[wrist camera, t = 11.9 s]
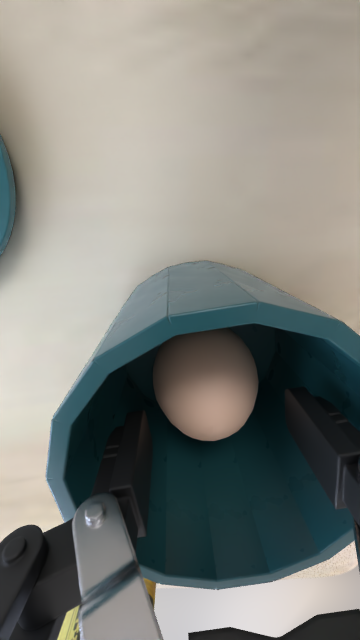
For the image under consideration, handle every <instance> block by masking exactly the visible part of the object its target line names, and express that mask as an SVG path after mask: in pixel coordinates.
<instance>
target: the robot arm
mask: <svg viewBox="0 0 360 640" xmlns="http://www.w3.org/2000/svg"><path fill="white" fill-rule="evenodd" d="M285 420H286V425H287V428H288V430H289V432H290V434H291V436H292V438H293V439H294V441H295V443H296V444H297V446H298V448H299V449H300V451H301V453H302V454H303V456H304V458H305V459H306V461H307V463H308V464H309V466H310V468H311V469H312V471H313V473H314V474H315V476H316V478H317V479H318V481H319V483H320V484H321V486H322V488H323V489H324V491H325V493H326V494H327V496H328V498H329V499H330V501H331V503H332V504H333V506H334V508H335V509H343V508H348V510H349V511H350V513H351V514H352V516H353V519H352V526H353V533H354V539H355V546H356V552H357V559H358V566H359V572H360V432H359V431H358V430H357V429H356V428H355V427H354V426H353V425H352V424H351V423H350V422H349V421H348V419H347V418H346V417H345V416H344V415H343V414H341V412H340V411H339V410H338V409H337V408H336V407H335V406H334V405H333V404H332V403H331V402H329V401H327V400H326V399H324V398H322V397H320V396H318V397H314V396H313V395H312V394H311V393H310V392H309V391H308V390H307V388H306V387H304V386H301V387H294V388H288V389H285ZM152 457H153V444H152V437H151V433H150V428H149V424H148V420H147V416H146V412H145V410H141V411H135V412H128V413H127V415H126V419H125V423H124V426H118V427H116V428H115V429H114V430H113V431H112V433H111V434H110V435H109V437H108V440H107V443H106V447H105V450H104V453H103V459H102V460H101V463H100V467H99V470H98V474H97V477H96V480H95V484H94V487H93V490H92V494H91V496H90V497H89V498H88V499H86V500H85V501H84V502H83V503H82V504H81V505H80V506H79V508H78V509H77V511H76V513H75V515H74V517H73V518H72V519H70V520H69V521H67V522H65V523H63V524H61V525H59V526H57V527H55V528H53V529H50V530H48V531H46V532H44V533H43V532H42V530H41V529H40V528H39V527H38V526H36V525H26V526H23V527H20V528H18V529H17V530H15V531H13V532H12V533H10V534H9V535H8V536H7V537H6V538H5V539H4V540H3V541H2V542H1V543H0V640H57V639H58V636H59V633H60V630H61V628H62V625H63V622H64V619H65V616H66V613H67V612H68V611H70V610H72V609H73V608H75V607H77V606H79V605H80V604H81V605H80V606H79V608H78V622H79V631H80V640H163V637H162V634H161V631H160V628H159V625H158V622H157V619H156V616H155V613H154V609H153V606H152V603H151V600H150V597H149V594H148V591H147V588H146V585H145V582H144V579H143V576H142V573H141V570H140V567H139V564H138V561H137V558H136V546H137V538H138V537H145V536H146V535H147V522H148V509H149V496H150V483H151V470H152ZM188 634H189V635H188V636H189V640H360V610H359V609H355V610H349V611H341V612H334V613H327V614H320V615H316V616H314V617H313V618H311V619H309V620H308V621H306V622H304V623H303V624H301V625H299V626H298V627H296V628H294V629H293V630H291V631H290V632H288V633H286V634H285V635H283V636H281V637H277V638H274V637H269V636H265V635H260V634H257V633H252V632H248V631H244V630H240V629H236V628H231V627H227V628H220V629H213V630H206V631H199V632H193V633H188Z"/></svg>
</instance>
